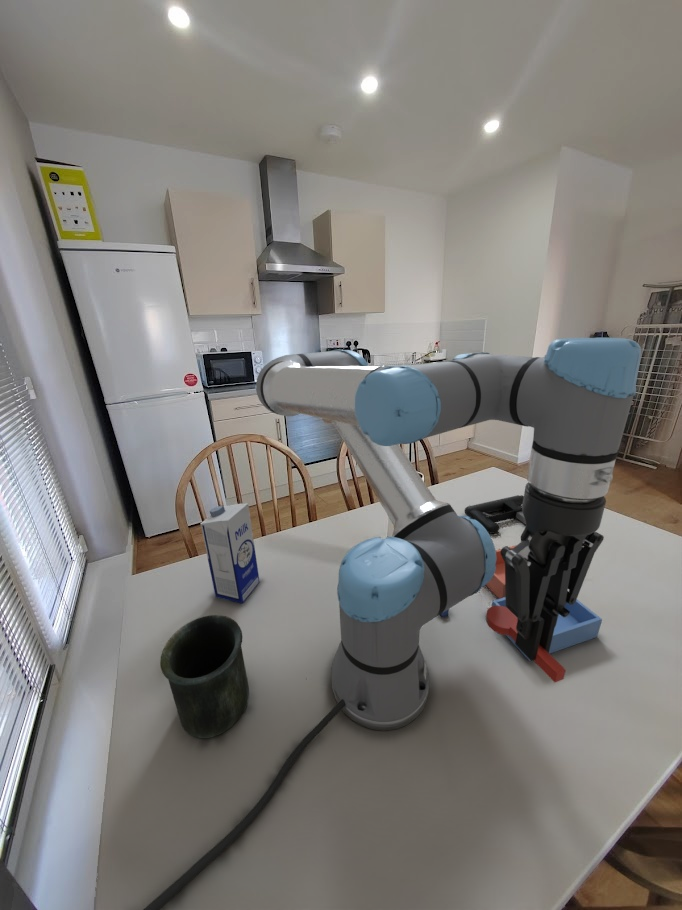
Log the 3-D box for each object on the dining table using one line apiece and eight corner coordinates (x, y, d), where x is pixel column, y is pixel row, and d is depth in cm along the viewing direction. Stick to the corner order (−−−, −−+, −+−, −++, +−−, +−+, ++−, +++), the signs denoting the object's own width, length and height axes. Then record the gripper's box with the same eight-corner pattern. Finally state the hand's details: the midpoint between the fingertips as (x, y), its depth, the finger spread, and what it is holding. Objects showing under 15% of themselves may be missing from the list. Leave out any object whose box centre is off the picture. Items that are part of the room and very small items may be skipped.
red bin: (501, 600, 71) (504, 584, 70) (471, 570, 80) (473, 555, 78) (559, 584, 75) (563, 568, 74) (525, 557, 84) (527, 542, 82)
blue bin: (529, 661, 59) (532, 642, 57) (489, 617, 67) (492, 600, 66) (597, 637, 63) (602, 619, 61) (551, 598, 71) (555, 582, 70)
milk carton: (242, 604, 73) (227, 519, 66) (214, 597, 75) (197, 514, 68) (260, 581, 79) (248, 502, 72) (234, 575, 81) (220, 498, 74)
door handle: (562, 519, 94) (516, 491, 108) (500, 535, 88) (460, 503, 102) (559, 530, 95) (514, 500, 109) (498, 546, 89) (459, 513, 103)
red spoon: (573, 675, 44) (575, 665, 43) (545, 687, 43) (547, 677, 42) (503, 608, 54) (504, 599, 54) (479, 616, 53) (480, 608, 53)
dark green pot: (173, 757, 48) (152, 694, 43) (183, 664, 61) (169, 609, 56) (255, 729, 50) (244, 668, 46) (248, 646, 64) (239, 592, 59)
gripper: (541, 517, 33) (508, 694, 41) (648, 490, 37) (599, 655, 46) (486, 485, 40) (467, 642, 48) (582, 465, 44) (549, 613, 52)
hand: (531, 648), depth 47 cm, fingers closed on red spoon, 1 cm apart
